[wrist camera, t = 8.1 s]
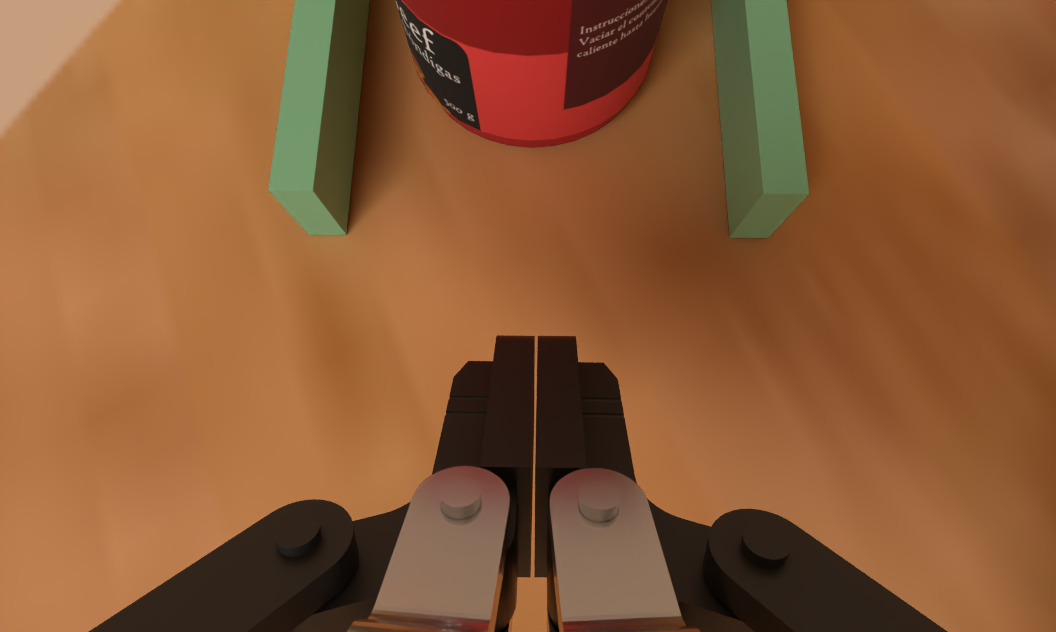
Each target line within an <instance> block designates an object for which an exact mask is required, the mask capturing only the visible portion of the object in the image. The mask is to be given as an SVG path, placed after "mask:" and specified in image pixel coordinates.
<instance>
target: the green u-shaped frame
mask: <svg viewBox="0 0 1056 632" xmlns="http://www.w3.org/2000/svg"><path fill="white" fill-rule="evenodd" d="M369 5H370V0H295V4H294V11H293V18H292V25H291V32H290V40H289V47H288V54H287V61H286V68H285V75H284V82H283V90H282V97H281V104H280V111H279V118H278V125H277V132H276V139H275V147H274V154H273V161H272V168H271V175H270V182H269V189H268V191H269V192H270V193H271V194H272V195H273V196H274V197H275V198H276V199H277V200H278V202H279V203H280V204H281V205H282V206H283V207H284V208H285V209H286V210H287V211H288V213H289V214H290V215H291V216H292V217H293V218H294V219H295V220H296V221H297V222H298V224H299V225H300V226H301V227H302V228H303V229H304V230H305V231H306V232H307V233H308V235H346V233H347V223H348V213H349V203H350V194H351V184H352V174H353V164H354V154H355V144H356V134H357V124H358V114H359V104H360V94H361V84H362V74H363V64H364V54H365V45H366V35H367V25H368V15H369ZM711 8H712V21H713V34H714V46H715V59H716V72H717V85H718V97H719V110H720V123H721V136H722V148H723V161H724V174H725V187H726V199H727V212H728V225H729V238H769V237H770V236H771V235H772V234H773V232H774V231H775V230H776V229H777V228H778V227H779V226H780V225H781V224H782V223H783V222H784V221H785V220H786V218H787V217H788V216H789V215H790V214H791V213H792V212H793V211H794V210H795V209H796V208H797V207H798V205H799V204H800V203H801V202H802V201H803V200H804V199H805V198H806V197H807V196H808V195H809V187H808V178H807V170H806V161H805V153H804V144H803V136H802V127H801V119H800V111H799V102H798V94H797V85H796V77H795V68H794V60H793V51H792V43H791V34H790V26H789V17H788V9H787V1H786V0H711Z"/></svg>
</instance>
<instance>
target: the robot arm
mask: <svg viewBox="0 0 1056 632" xmlns="http://www.w3.org/2000/svg"><path fill="white" fill-rule="evenodd" d="M534 354H535V337H534V336H497V337H496V344H495V351H494V359H493V361H468V362H467V363H466V364H465V365H464V367H463V368H462V369H461V370H460V371H459V372H458V373H457V374H456V375H455V376H454V378H453V383H452V387H451V392H450V399H449V401H448V405H447V410H446V415H445V419H444V423H443V428H442V432H441V437H440V441H439V446H438V450H437V455H436V459H435V464H434V468H433V473H432V475H431V476H429V477H428V478H427V479H425V480H424V481H423V482H422V483H421V484H420V485H419V487H418V488H417V489H416V491H415V493H414V495H413V497H412V500H411V502H409V503H408V504H406V505H404V506H402V507H400V508H398V509H396V510H393V511H391V512H387V513H384V514H380V515H376V516H372V517H368V518H364V519H360V520H356V521H352V519H351V517H350V515H349V514H348V512H347V511H346V510H345V509H344V508H342V507H341V506H339V505H338V504H335V503H333V502H330V501H325V500H315V499H314V500H304V501H298V502H295V503H291V504H288V505H286V506H283V507H281V508H279V509H277V510H275V511H274V512H272V513H270V514H269V515H267V516H266V517H264V518H263V519H261V520H260V521H258V522H256V523H255V524H253V525H252V526H250V527H249V528H247V529H246V530H244V531H243V532H241V533H240V534H238V535H236V536H235V537H233V538H232V539H230V540H229V541H227V542H226V543H224V544H223V545H221V546H220V547H218V548H217V549H215V550H213V551H212V552H210V553H209V554H207V555H206V556H204V557H203V558H201V559H200V560H198V561H197V562H195V563H193V564H192V565H190V566H189V567H187V568H186V569H184V570H183V571H181V572H180V573H178V574H177V575H175V576H174V577H172V578H170V579H169V580H167V581H166V582H164V583H163V584H161V585H160V586H158V587H157V588H155V589H154V590H152V591H150V592H149V593H147V594H146V595H144V596H143V597H141V598H140V599H138V600H137V601H135V602H134V603H132V604H131V605H129V606H127V607H126V608H124V609H123V610H121V611H120V612H118V613H117V614H115V615H114V616H112V617H111V618H109V619H108V620H106V621H104V622H103V623H101V624H100V625H98V626H97V627H95V628H94V629H92V630H91V631H89V632H512V616H513V614H514V611H515V607H516V596H517V577H530V572H531V530H532V488H533V446H534ZM535 577H547V632H947V631H946V630H944V629H943V628H942V627H940V626H939V625H937V624H936V623H934V622H933V621H932V620H930V619H929V618H927V617H926V616H924V615H923V614H922V613H920V612H919V611H917V610H916V609H914V608H913V607H912V606H910V605H909V604H907V603H906V602H905V601H903V600H902V599H900V598H899V597H897V596H896V595H895V594H893V593H892V592H890V591H889V590H887V589H886V588H885V587H883V586H882V585H880V584H879V583H877V582H876V581H875V580H873V579H872V578H870V577H869V576H867V575H866V574H865V573H863V572H862V571H860V570H859V569H857V568H856V567H855V566H853V565H852V564H850V563H849V562H848V561H846V560H845V559H843V558H842V557H840V556H839V555H838V554H836V553H835V552H833V551H832V550H830V549H829V548H828V547H826V546H825V545H823V544H822V543H820V542H819V541H818V540H816V539H815V538H813V537H812V536H810V535H809V534H808V533H806V532H805V531H803V530H802V529H801V528H799V527H798V526H796V525H795V524H793V523H792V522H790V521H788V520H787V519H785V518H783V517H780V516H778V515H776V514H773V513H770V512H767V511H762V510H756V509H739V510H734V511H731V512H728V513H725V514H724V515H722V516H720V517H719V518H718V519H717V520H716V521H715V522H714V524H713V525H712V527H710V526H706V525H703V524H699V523H696V522H692V521H688V520H685V519H682V518H679V517H676V516H673V515H671V514H669V513H667V512H665V511H663V510H661V509H660V508H658V507H657V506H655V505H654V504H653V503H652V502H650V501H649V500H648V499H647V498H646V495H645V494H644V492H643V491H642V489H641V488H640V487H639V486H638V485H637V483H636V479H635V475H634V469H633V464H632V458H631V452H630V447H629V441H628V435H627V430H626V424H625V418H624V413H623V407H622V402H621V396H620V390H619V384H618V379H617V378H616V377H615V376H614V374H613V373H612V372H611V371H610V370H609V369H608V367H607V366H606V365H605V364H604V363H585V362H578V357H577V345H576V337H575V336H538V357H537V410H536V464H535Z"/></svg>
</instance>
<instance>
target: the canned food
mask: <svg viewBox="0 0 1056 632" xmlns="http://www.w3.org/2000/svg"><path fill="white" fill-rule="evenodd" d="M666 3H667V0H396V4H397V7H398V10H399V14H400V17H401V20H402V24H403V27H404V30H405V34H406V37H407V40H408V44H409V47H410V50H411V54H412V57H413V60H414V64H415V67H416V71H417V74H418V76H419V77H420V79H421V81H422V83H423V84H424V86H425V88H426V90H427V91H428V93H429V94H430V95H431V96H432V97H433V98H434V99H435V101H436V102H437V103H438V104H439V105H440V106H441V107H442V108H443V109H444V111H445V112H446V113H447V114H448V115H449V116H450V117H451V118H452V119H453V120H455V121H456V122H457V123H459V124H460V125H461V126H463V127H464V128H466V129H467V130H469V131H471V132H473V133H475V134H477V135H479V136H481V137H483V138H485V139H488V140H491V141H495V142H498V143H502V144H506V145H511V146H521V147H546V146H555V145H559V144H563V143H568V142H572V141H575V140H577V139H580V138H582V137H584V136H587V135H589V134H591V133H594V132H595V131H597V130H598V129H600V128H601V127H602V126H604V125H605V124H607V123H608V122H610V121H611V120H612V119H613V118H614V117H615V116H616V115H617V114H618V113H619V112H620V111H621V110H622V109H623V108H624V107H625V106H626V104H627V103H628V102H629V101H630V100H631V99H632V97H633V96H634V95H635V93H636V92H637V90H638V89H639V87H640V85H641V84H642V82H643V80H644V79H645V77H646V74H647V71H648V68H649V65H650V61H651V58H652V55H653V51H654V47H655V44H656V40H657V36H658V33H659V29H660V25H661V22H662V18H663V14H664V11H665V7H666Z"/></svg>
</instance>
